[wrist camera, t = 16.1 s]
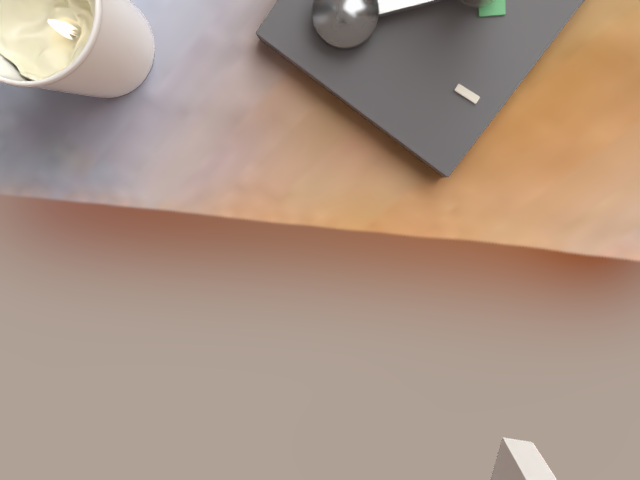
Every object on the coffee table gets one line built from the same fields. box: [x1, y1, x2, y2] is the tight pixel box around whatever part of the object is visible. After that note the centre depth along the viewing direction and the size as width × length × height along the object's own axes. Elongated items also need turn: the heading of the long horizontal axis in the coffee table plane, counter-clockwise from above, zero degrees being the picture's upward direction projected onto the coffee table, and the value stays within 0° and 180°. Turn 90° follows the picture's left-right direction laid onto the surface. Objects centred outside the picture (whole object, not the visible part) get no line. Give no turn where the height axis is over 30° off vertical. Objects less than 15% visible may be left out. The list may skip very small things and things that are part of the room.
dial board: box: [256, 0, 584, 177], centre depth 41 cm, size 19×19×2 cm
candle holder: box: [0, 0, 155, 98], centre depth 37 cm, size 10×10×12 cm
